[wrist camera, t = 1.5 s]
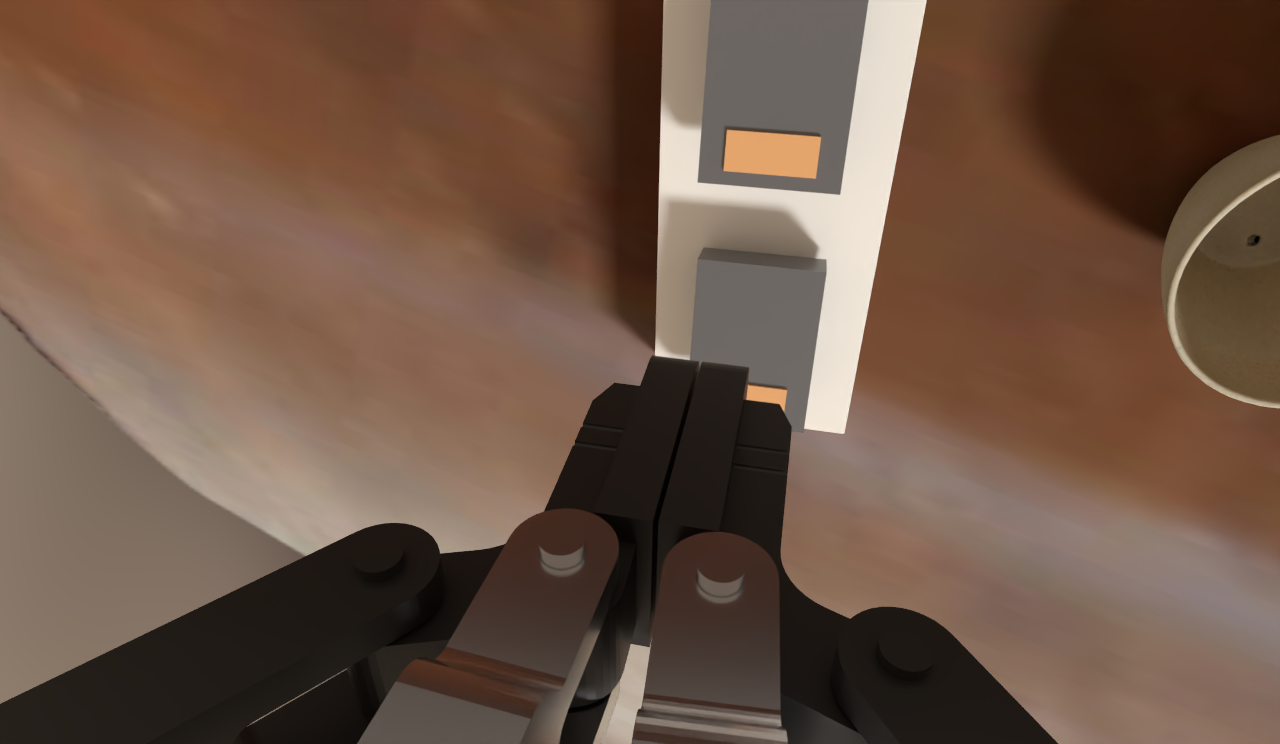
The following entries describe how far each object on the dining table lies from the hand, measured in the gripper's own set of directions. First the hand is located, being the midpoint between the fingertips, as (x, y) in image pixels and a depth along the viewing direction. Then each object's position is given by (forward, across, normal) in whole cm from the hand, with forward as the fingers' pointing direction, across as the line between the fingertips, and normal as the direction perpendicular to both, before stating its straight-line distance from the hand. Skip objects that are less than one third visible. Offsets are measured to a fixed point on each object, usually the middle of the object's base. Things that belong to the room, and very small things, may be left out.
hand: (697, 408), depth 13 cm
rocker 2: (+20, 0, +10) cm, 22 cm away
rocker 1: (+20, 0, 0) cm, 20 cm away
